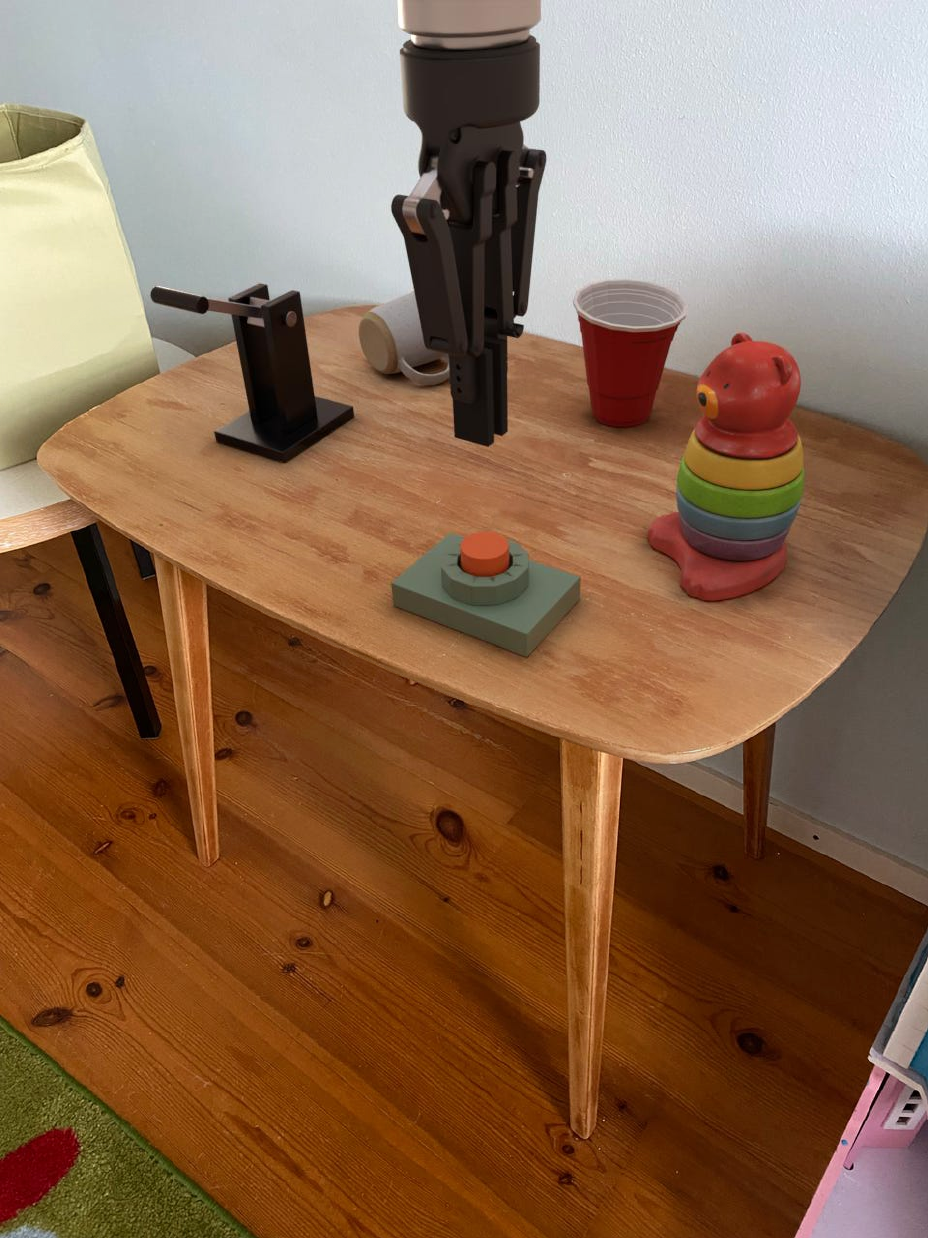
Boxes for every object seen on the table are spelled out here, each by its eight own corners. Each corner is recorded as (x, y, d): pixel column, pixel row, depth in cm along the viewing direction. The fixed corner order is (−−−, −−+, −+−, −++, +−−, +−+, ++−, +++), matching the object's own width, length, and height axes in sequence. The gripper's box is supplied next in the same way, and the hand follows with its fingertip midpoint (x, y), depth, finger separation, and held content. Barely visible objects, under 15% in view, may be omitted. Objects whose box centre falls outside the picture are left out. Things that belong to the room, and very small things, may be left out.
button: (451, 569, 73) (450, 549, 72) (478, 545, 76) (477, 526, 74) (492, 583, 72) (492, 564, 70) (518, 559, 74) (518, 540, 73)
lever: (195, 319, 81) (198, 289, 81) (148, 307, 84) (151, 278, 83) (297, 333, 93) (301, 306, 92) (253, 322, 95) (257, 297, 94)
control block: (393, 605, 76) (388, 563, 73) (451, 554, 81) (448, 513, 79) (527, 657, 70) (527, 614, 68) (580, 599, 76) (582, 556, 73)
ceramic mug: (357, 365, 111) (350, 298, 106) (415, 345, 115) (411, 279, 110) (413, 397, 104) (408, 328, 100) (472, 374, 108) (471, 306, 103)
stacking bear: (639, 531, 83) (657, 326, 72) (749, 511, 84) (783, 308, 73) (694, 606, 74) (724, 388, 63) (815, 583, 76) (865, 366, 65)
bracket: (284, 463, 94) (260, 323, 86) (215, 441, 98) (186, 306, 90) (354, 416, 101) (339, 283, 93) (287, 398, 105) (266, 268, 97)
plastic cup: (627, 452, 93) (636, 330, 86) (546, 415, 100) (548, 299, 92) (699, 414, 99) (714, 296, 91) (618, 382, 105) (625, 269, 98)
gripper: (481, 13, 58) (489, 383, 73) (330, 52, 49) (374, 465, 64) (594, 18, 55) (579, 405, 70) (453, 61, 46) (470, 496, 61)
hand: (481, 433), depth 67 cm, fingers closed
